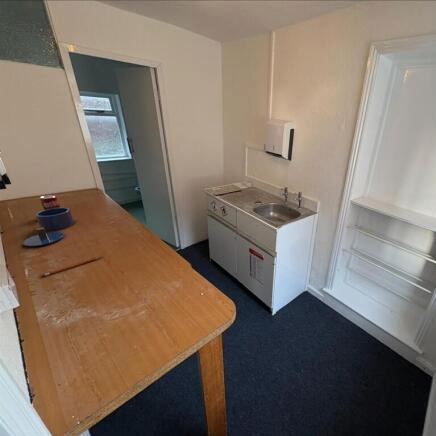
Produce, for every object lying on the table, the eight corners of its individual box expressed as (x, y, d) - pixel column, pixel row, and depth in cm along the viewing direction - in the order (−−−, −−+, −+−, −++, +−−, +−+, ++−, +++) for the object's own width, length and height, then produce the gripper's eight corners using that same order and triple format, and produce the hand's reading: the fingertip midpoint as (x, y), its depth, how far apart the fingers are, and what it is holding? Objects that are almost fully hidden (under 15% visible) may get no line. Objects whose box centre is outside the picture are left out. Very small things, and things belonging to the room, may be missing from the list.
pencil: (42, 276, 94) (42, 274, 93) (100, 257, 107) (99, 256, 106) (43, 277, 93) (42, 275, 93) (100, 258, 106) (100, 256, 106)
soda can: (45, 214, 146) (37, 196, 141) (60, 211, 152) (53, 194, 147) (48, 217, 143) (41, 199, 138) (64, 214, 148) (57, 196, 143)
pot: (40, 232, 125) (33, 218, 122) (43, 224, 135) (37, 210, 132) (73, 226, 133) (68, 213, 130) (74, 218, 143) (69, 206, 140)
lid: (21, 250, 109) (15, 238, 106) (26, 238, 119) (21, 226, 117) (63, 242, 118) (58, 230, 115) (65, 231, 128) (60, 220, 125)
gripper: (-20, 148, 109) (-3, 183, 116) (-33, 153, 97) (-14, 192, 104) (4, 147, 114) (19, 181, 121) (-6, 152, 102) (11, 190, 108)
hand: (4, 186), depth 112 cm, fingers open, 9 cm apart
